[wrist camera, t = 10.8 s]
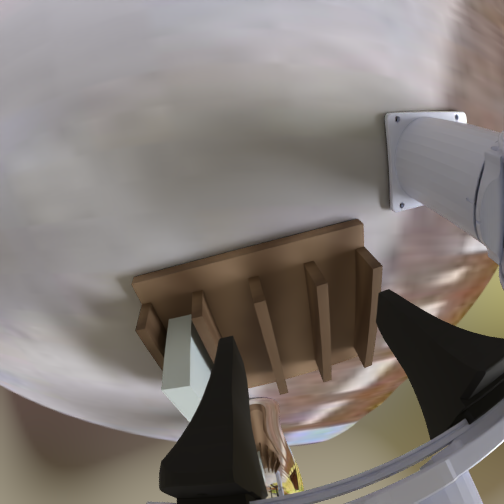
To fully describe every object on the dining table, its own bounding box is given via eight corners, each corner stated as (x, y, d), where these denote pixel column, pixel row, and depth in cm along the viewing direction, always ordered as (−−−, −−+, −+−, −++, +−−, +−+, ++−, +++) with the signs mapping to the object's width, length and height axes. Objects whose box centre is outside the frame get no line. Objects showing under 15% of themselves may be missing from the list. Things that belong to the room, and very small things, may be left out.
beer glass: (234, 394, 30) (251, 514, 17) (289, 394, 31) (320, 503, 18) (224, 420, 33) (237, 521, 20) (273, 420, 34) (295, 514, 21)
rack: (357, 218, 21) (383, 241, 18) (355, 349, 29) (369, 375, 25) (134, 277, 21) (122, 309, 17) (200, 390, 29) (201, 420, 25)
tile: (191, 314, 22) (189, 385, 16) (220, 371, 26) (226, 433, 20) (168, 319, 22) (161, 390, 16) (201, 375, 26) (203, 436, 20)
